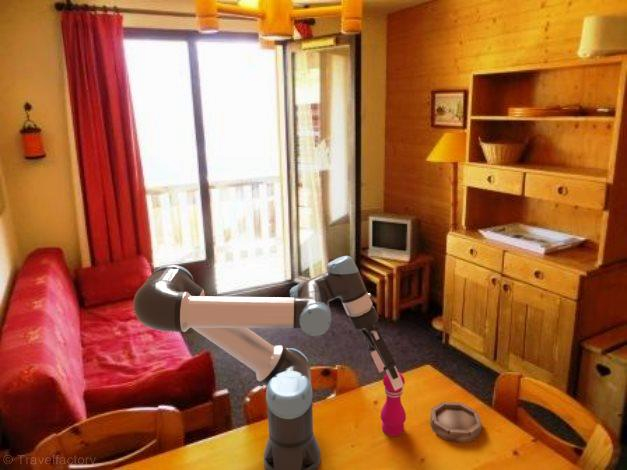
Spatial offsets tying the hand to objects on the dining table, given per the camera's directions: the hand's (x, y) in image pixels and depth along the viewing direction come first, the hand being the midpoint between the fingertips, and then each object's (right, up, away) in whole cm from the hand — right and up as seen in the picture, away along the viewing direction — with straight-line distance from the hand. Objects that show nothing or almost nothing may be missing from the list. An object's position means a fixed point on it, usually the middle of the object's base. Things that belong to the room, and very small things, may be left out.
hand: (390, 378), depth 129 cm
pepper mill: (+2, -17, +6) cm, 18 cm away
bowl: (+20, -16, +7) cm, 26 cm away
